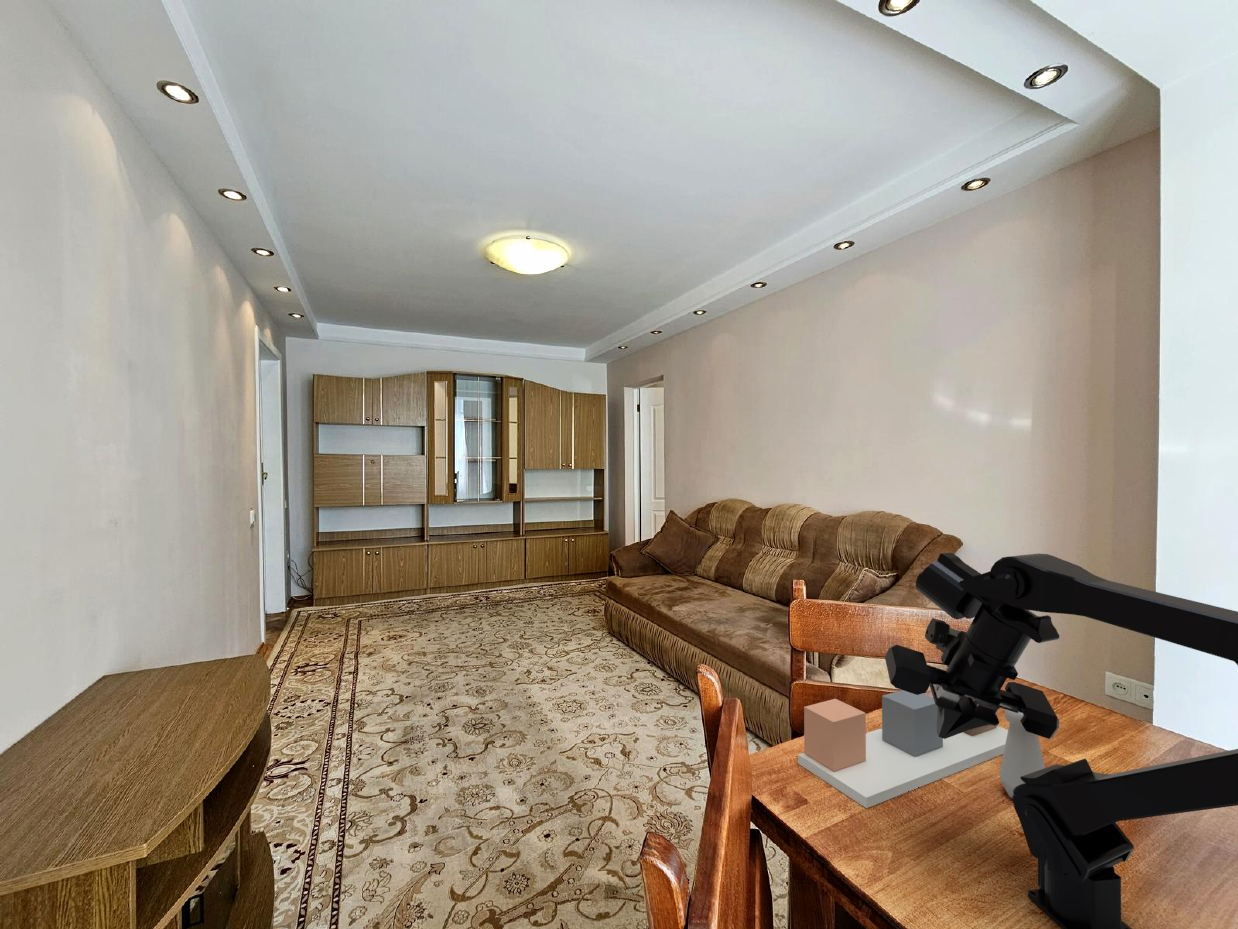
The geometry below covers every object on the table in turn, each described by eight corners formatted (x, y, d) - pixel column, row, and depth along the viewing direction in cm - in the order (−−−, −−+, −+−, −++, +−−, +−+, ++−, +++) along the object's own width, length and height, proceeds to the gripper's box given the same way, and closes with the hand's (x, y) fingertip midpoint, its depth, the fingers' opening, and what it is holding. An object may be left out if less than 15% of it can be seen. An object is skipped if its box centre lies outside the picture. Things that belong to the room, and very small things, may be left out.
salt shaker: (1058, 812, 76) (1057, 718, 76) (1011, 807, 77) (1010, 714, 77) (1035, 787, 82) (1034, 700, 82) (992, 783, 83) (991, 697, 83)
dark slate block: (942, 746, 91) (942, 701, 91) (915, 756, 88) (914, 709, 88) (909, 731, 96) (909, 688, 96) (882, 740, 93) (882, 695, 93)
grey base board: (950, 715, 106) (950, 707, 106) (1024, 745, 94) (1024, 736, 94) (798, 763, 89) (798, 754, 89) (866, 808, 77) (866, 797, 77)
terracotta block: (865, 760, 86) (865, 713, 87) (833, 771, 83) (833, 722, 83) (835, 743, 92) (835, 698, 92) (804, 753, 89) (804, 706, 89)
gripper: (1049, 629, 72) (996, 715, 78) (900, 585, 76) (861, 670, 82) (1089, 689, 62) (1025, 782, 68) (916, 635, 66) (870, 727, 72)
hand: (940, 735), depth 73 cm, fingers closed
